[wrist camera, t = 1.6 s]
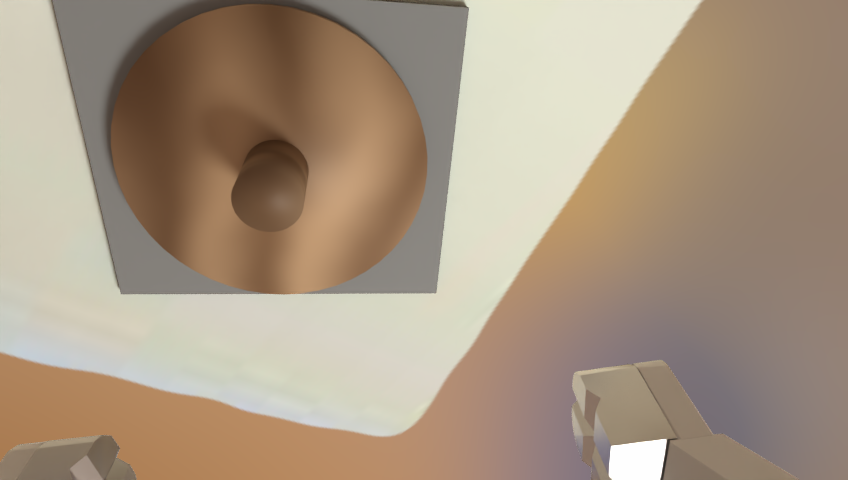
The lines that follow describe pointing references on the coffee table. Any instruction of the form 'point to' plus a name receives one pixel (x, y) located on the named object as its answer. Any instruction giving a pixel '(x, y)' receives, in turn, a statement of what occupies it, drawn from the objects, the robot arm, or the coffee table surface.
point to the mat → (343, 3)
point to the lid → (269, 149)
